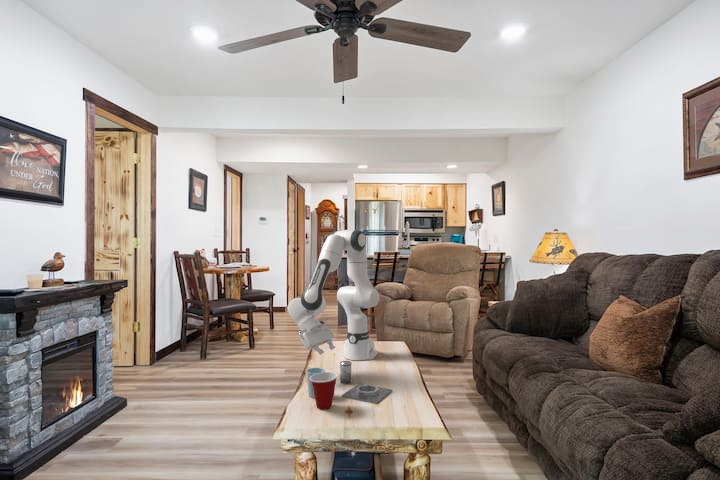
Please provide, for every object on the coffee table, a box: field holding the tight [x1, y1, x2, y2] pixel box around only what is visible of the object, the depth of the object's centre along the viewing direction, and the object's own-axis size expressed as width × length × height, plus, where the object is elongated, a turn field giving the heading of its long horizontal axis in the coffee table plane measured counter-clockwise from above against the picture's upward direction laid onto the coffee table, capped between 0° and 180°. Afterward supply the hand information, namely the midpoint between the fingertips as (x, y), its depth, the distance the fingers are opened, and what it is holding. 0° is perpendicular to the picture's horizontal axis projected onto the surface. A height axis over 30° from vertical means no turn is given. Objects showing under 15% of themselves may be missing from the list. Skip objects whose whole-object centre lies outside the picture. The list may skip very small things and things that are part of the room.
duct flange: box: [341, 383, 393, 405], centre depth 169 cm, size 16×16×2 cm
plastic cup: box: [310, 371, 339, 411], centre depth 155 cm, size 11×11×12 cm
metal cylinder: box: [339, 360, 352, 385], centre depth 183 cm, size 5×5×9 cm
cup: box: [305, 367, 326, 399], centre depth 166 cm, size 8×8×10 cm
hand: (327, 351), depth 187 cm, fingers open, 8 cm apart
